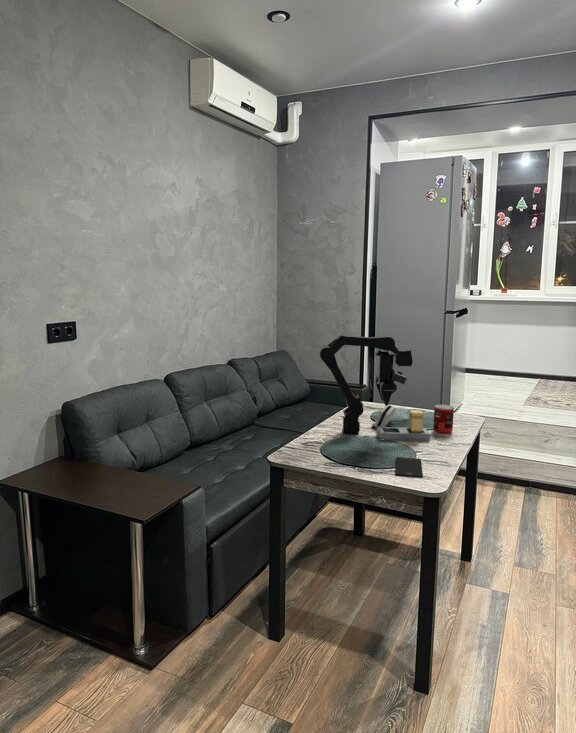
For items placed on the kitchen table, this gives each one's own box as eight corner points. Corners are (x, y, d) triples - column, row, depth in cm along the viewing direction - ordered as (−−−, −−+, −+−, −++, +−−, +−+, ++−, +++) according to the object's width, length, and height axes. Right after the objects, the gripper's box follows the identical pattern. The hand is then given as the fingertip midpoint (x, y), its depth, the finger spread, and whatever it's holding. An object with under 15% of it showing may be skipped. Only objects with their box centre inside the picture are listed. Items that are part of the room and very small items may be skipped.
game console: (380, 419, 249) (388, 400, 246) (389, 423, 247) (398, 404, 244) (370, 428, 234) (378, 407, 231) (380, 432, 232) (388, 412, 230)
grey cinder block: (380, 440, 216) (380, 433, 215) (376, 434, 225) (377, 427, 224) (429, 441, 216) (430, 433, 215) (424, 434, 224) (425, 427, 224)
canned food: (433, 428, 235) (435, 403, 233) (452, 430, 232) (454, 405, 230) (432, 432, 227) (433, 407, 226) (452, 434, 225) (453, 409, 223)
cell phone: (395, 476, 177) (395, 473, 177) (395, 459, 194) (395, 456, 194) (422, 478, 175) (422, 476, 175) (420, 461, 193) (420, 458, 192)
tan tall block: (410, 439, 218) (412, 413, 216) (408, 436, 222) (409, 410, 221) (422, 439, 218) (423, 413, 216) (419, 436, 222) (420, 410, 221)
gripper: (410, 370, 212) (408, 408, 215) (401, 363, 231) (399, 398, 233) (382, 369, 212) (380, 408, 215) (375, 362, 231) (374, 398, 233)
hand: (384, 403), depth 224 cm, fingers open, 9 cm apart
